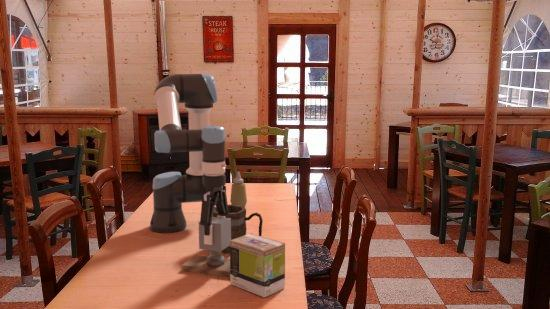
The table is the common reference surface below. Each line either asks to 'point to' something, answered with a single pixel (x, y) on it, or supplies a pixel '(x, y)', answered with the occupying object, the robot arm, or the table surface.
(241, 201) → the squeeze bottle
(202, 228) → the gray cube
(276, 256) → the tea box
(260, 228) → the mug
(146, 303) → the table surface
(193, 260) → the brown base with rod
